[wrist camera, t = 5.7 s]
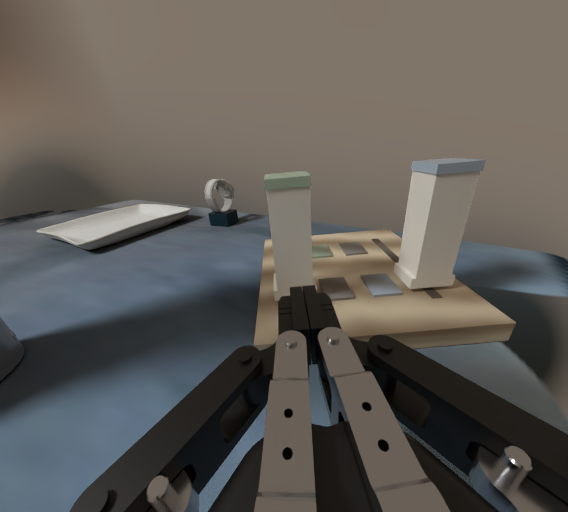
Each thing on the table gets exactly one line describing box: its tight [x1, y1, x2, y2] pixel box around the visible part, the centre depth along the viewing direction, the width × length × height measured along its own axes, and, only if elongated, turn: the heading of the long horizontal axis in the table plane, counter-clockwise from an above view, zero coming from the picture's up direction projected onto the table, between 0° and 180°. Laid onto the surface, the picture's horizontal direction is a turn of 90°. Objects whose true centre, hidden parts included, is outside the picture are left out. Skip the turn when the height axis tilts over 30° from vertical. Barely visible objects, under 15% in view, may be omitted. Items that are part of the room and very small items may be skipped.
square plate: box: [37, 204, 191, 250], centre depth 62 cm, size 27×27×4 cm
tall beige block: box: [264, 171, 317, 301], centre depth 23 cm, size 4×4×12 cm
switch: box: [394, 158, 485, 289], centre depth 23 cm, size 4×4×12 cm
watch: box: [205, 179, 238, 227], centre depth 57 cm, size 6×8×11 cm
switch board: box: [254, 229, 516, 351], centre depth 30 cm, size 24×22×2 cm
